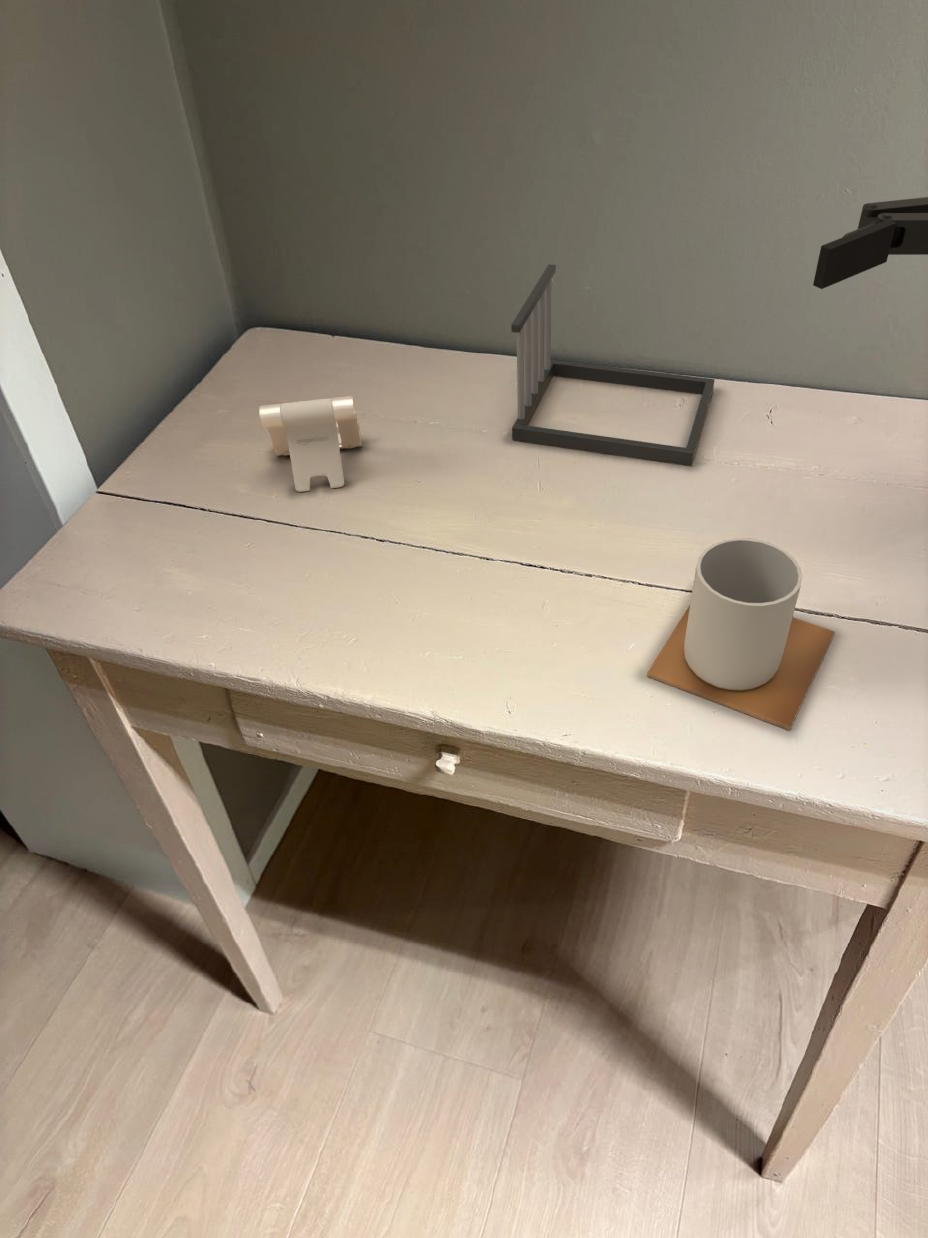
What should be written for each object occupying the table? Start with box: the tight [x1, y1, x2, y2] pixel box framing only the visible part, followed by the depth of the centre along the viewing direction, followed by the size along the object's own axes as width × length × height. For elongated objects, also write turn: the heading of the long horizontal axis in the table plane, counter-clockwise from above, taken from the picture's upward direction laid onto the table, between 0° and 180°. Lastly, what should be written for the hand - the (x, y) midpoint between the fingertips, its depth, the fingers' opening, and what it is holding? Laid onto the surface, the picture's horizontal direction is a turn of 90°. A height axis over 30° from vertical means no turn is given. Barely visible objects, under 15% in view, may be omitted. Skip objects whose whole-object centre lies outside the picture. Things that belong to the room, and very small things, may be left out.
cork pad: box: [646, 604, 835, 731], centre depth 74 cm, size 11×11×1 cm
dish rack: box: [510, 263, 716, 467], centre depth 95 cm, size 18×14×12 cm
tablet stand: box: [258, 395, 363, 493], centre depth 92 cm, size 9×8×8 cm
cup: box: [684, 537, 803, 691], centre depth 71 cm, size 7×10×9 cm
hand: (907, 304), depth 59 cm, fingers open, 13 cm apart
